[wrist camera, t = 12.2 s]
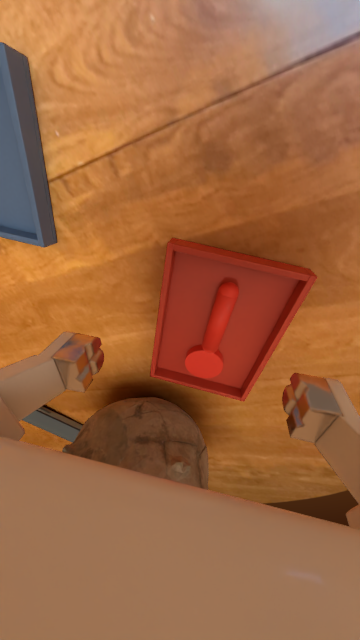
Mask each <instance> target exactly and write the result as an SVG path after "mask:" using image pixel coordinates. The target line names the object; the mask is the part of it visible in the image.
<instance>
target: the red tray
mask: <svg viewBox="0 0 360 640" xmlns="http://www.w3.org/2000/svg"><path fill="white" fill-rule="evenodd" d="M316 279H317V276H316V275H315V274H314V273H313V272H312V271H311V270H310V269H307V268H303V267H299V266H294V265H290V264H285V263H281V262H277V261H272V260H268V259H264V258H259V257H255V256H250V255H246V254H242V253H237V252H233V251H229V250H224V249H220V248H215V247H211V246H207V245H202V244H198V243H194V242H189V241H185V240H180V239H176V238H172V239H171V240H170V241H169V242H168V243H167V251H166V258H165V266H164V273H163V281H162V288H161V296H160V303H159V311H158V318H157V326H156V333H155V341H154V349H153V356H152V364H151V371H150V377H154V378H158V379H162V380H165V381H169V382H173V383H177V384H180V385H184V386H188V387H192V388H195V389H199V390H203V391H207V392H210V393H214V394H218V395H222V396H225V397H229V398H233V399H237V400H240V401H245V399H246V398H247V396H248V394H249V392H250V391H251V389H252V387H253V386H254V384H255V382H256V381H257V379H258V377H259V375H260V374H261V372H262V370H263V369H264V367H265V365H266V364H267V362H268V360H269V358H270V357H271V355H272V353H273V352H274V350H275V348H276V347H277V345H278V343H279V341H280V340H281V338H282V336H283V335H284V333H285V331H286V330H287V328H288V326H289V325H290V323H291V321H292V319H293V318H294V316H295V314H296V313H297V311H298V309H299V308H300V306H301V304H302V302H303V301H304V299H305V297H306V296H307V294H308V292H309V291H310V289H311V287H312V285H313V284H314V282H315V280H316ZM226 282H232V283H234V284H236V285H237V287H238V289H239V295H238V298H237V301H236V303H235V306H234V308H233V311H232V314H231V316H230V319H229V322H228V324H227V327H226V330H225V332H224V335H223V338H222V340H221V343H220V346H219V348H218V350H219V351H220V352H221V354H222V356H223V370H222V372H221V373H220V374H219V375H217V376H215V377H213V378H200V377H197V376H194V375H193V374H191V373H190V372H189V371H188V370H187V368H186V366H185V359H186V354H187V352H188V351H189V349H191V348H192V347H194V346H196V345H202V341H203V338H204V335H205V332H206V328H207V325H208V322H209V319H210V315H211V312H212V309H213V306H214V303H215V299H216V296H217V293H218V290H219V287H220V286H221V285H222V284H223V283H226Z"/></svg>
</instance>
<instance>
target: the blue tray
mask: <svg viewBox="0 0 360 640" xmlns="http://www.w3.org/2000/svg"><path fill="white" fill-rule="evenodd" d="M0 237H3V238H7V239H12V240H16V241H20V242H24V243H28V244H32V245H37V246H41V247H47V246H49V245H52V244H55V243H57V238H56V232H55V226H54V220H53V213H52V207H51V201H50V195H49V189H48V183H47V177H46V170H45V164H44V158H43V152H42V146H41V140H40V134H39V128H38V121H37V115H36V109H35V103H34V97H33V91H32V85H31V78H30V72H29V66H28V60H27V57H26V56H24V55H23V54H21V53H19V52H18V51H16V50H14V49H13V48H11V47H9V46H8V45H6V44H4V43H2V42H0Z"/></svg>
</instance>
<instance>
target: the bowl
mask: <svg viewBox="0 0 360 640" xmlns="http://www.w3.org/2000/svg"><path fill="white" fill-rule="evenodd" d="M62 452H64V453H68V454H72V455H76V456H79V457H83V458H87V459H91V460H95V461H99V462H102V463H106V464H110V465H114V466H118V467H122V468H126V469H129V470H133V471H137V472H141V473H145V474H149V475H153V476H156V477H160V478H164V479H168V480H172V481H176V482H179V483H183V484H187V485H191V486H195V487H199V488H203V489H206V490H208V454H207V447H206V445H205V443H204V440H203V437H202V434H201V431H200V429H199V428H198V426H197V424H196V423H195V422H194V420H193V419H192V418H191V417H190V416H189V414H187V413H186V412H185V411H183V410H182V409H181V408H179V407H178V406H177V405H175V404H173V403H171V402H168V401H166V400H163V399H160V398H156V397H146V398H145V397H143V398H130V399H125V400H121V401H117V402H114V403H112V404H109V405H107V406H105V407H104V408H102V409H100V410H99V411H97V412H96V413H95V414H94V415H92V416H91V417H90V418H89V419H88V420H87V421H86V422H85V424H84V425H83V427H82V428H81V430H80V432H79V434H78V435H77V437H76V439H75V440H74V442H73V443H72V444H70V445H66V446H65V447H64V448H63V450H62Z"/></svg>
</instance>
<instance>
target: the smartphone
mask: <svg viewBox="0 0 360 640" xmlns="http://www.w3.org/2000/svg"><path fill="white" fill-rule="evenodd" d="M22 420H23V421H26V422H28V423H30V424H32V425H35V426H37V427H39V428H41V429H44V430H46V431H48V432H50V433H53V434H55V435H57V436H59V437H62V438H64V439H66V440H68V441H71V442H74V440H75V439H76V437H77V435H78V434H79V432H80V430H81V428H82V427H83V425H81V424H79V423H77V422H75V421H72V420H70V419H68V418H66V417H64V416H62V415H60V414H58V413H55V412H53V411H51V410H49V409H47V408H45V407H43V406H41V407H40V408H38V409H37V410H35V411H34V412H32V413H31V414H29V415H28V416H26V417H25V418H23V419H22Z"/></svg>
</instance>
